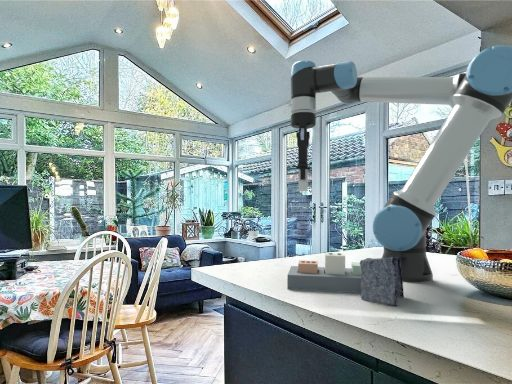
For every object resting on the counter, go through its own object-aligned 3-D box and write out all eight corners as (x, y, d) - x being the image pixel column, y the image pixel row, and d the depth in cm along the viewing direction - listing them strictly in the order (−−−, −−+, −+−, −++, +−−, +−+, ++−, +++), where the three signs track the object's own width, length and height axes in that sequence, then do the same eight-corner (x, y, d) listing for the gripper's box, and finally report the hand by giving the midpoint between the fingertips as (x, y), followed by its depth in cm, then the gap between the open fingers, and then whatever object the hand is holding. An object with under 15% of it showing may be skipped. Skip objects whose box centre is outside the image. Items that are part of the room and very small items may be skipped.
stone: (413, 311, 79) (404, 308, 71) (370, 312, 84) (356, 309, 76) (405, 259, 84) (396, 251, 76) (365, 263, 89) (351, 255, 81)
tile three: (317, 279, 95) (317, 260, 95) (317, 283, 90) (317, 263, 90) (299, 278, 96) (299, 259, 96) (298, 282, 91) (298, 262, 91)
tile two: (343, 271, 94) (343, 252, 94) (345, 275, 89) (345, 255, 89) (325, 270, 95) (325, 251, 95) (325, 274, 90) (325, 254, 90)
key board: (378, 285, 95) (378, 269, 95) (386, 298, 84) (386, 279, 84) (291, 281, 100) (291, 266, 100) (287, 292, 88) (287, 274, 88)
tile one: (370, 281, 92) (370, 262, 93) (373, 286, 88) (373, 265, 88) (351, 280, 93) (351, 261, 93) (353, 285, 88) (353, 264, 89)
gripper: (292, 119, 113) (292, 191, 113) (289, 108, 100) (288, 190, 100) (315, 118, 112) (315, 191, 111) (315, 107, 99) (315, 190, 99)
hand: (303, 190), depth 106 cm, fingers closed
